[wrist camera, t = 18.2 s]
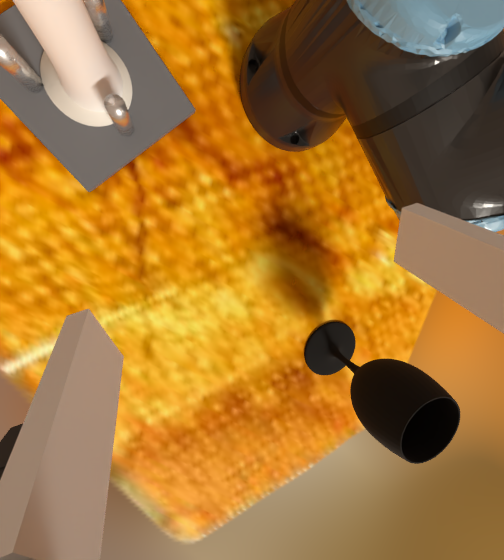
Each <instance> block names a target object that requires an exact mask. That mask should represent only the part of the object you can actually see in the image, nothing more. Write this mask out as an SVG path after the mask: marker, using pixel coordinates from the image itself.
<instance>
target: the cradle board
mask: <svg viewBox="0 0 504 560" xmlns="http://www.w3.org/2000/svg"><path fill="white" fill-rule="evenodd" d="M104 3H105V6H106V10H107V13H108V17H109V20H110V24H111V28H112V31H113V39H112V41H111V42H109V43H104V42H102V41H101V42H102V44H103V46H104V48H105V49H106V51H107V53H108V55H109V56H110V58H111V59H112V60H113V62H114V63H115V65H116V66H117V68H118V69H119V72H120V74H121V77H122V81H123V93H122V97H121V98H122V99H123V100H124V101H125V104H126V107H127V110H128V112H129V115H130V118H131V121H132V124H133V127H134V131H133V133H132V135H130V136H123V135H121V134H120V133H119V132H118V130H117V128H116V127H115V125H114V123H113V121H112V119H111V117H110V116H109V114H108V112H107V111H104V112H94V111H90V110H87V109H84V108H82V107H80V106H79V105H77V104H76V103H75V102H74V101H72V100H71V99H70V98H69V96H68V95H67V94H66V92H65V91H64V89H63V87H62V85H61V83H60V80H59V77H58V74H57V72H56V70H55V68H54V66H53V64H52V62H51V61H50V59H49V57H48V56H47V54H46V52H45V51H44V49H43V47H42V46H41V44H40V43H39V41H38V39H37V38H36V36H35V35H34V33H33V32H32V30H31V28H30V27H29V25H28V24H27V22H26V21H25V19H24V18H23V16H22V14H21V13H20V11H19V10H18V8H17V7H16V5H14V6H12V7H11V8H9V9H8V10H6V11H5V12H3V13H2V14H0V34H1V35H2V36H3V37H4V38H5V39H6V40H7V42H8V43H9V44H10V45H11V46H12V47H13V48H14V49H15V50H16V51H17V53H18V54H19V55H20V56H21V57H22V58H23V59H24V60H25V61H26V62H27V64H28V65H29V66H30V67H31V68H32V69H33V70H34V71H35V72H36V73H37V75H38V76H39V77H40V78H41V79H42V83H43V89H42V90H41V91H40V92H37V93H34V92H31V91H29V90H28V89H26V88H25V87H24V86H23V85H22V84H21V83H20V82H19V81H18V80H16V79H15V78H14V77H13V76H12V75H11V74H10V73H9V72H8V71H7V70H5V69H4V68H3V67H2V66H1V65H0V99H1V100H2V101H3V102H4V103H5V104H6V105H7V106H8V107H9V108H10V109H11V110H12V111H13V112H14V114H15V115H16V116H17V117H18V118H19V119H20V120H21V121H22V122H23V123H24V124H25V125H26V126H27V127H28V128H29V129H30V130H31V132H32V133H33V134H34V135H35V136H36V137H37V138H38V139H39V140H40V141H41V142H42V143H43V144H44V145H45V146H46V147H47V149H48V150H49V151H50V152H51V153H52V154H53V155H54V156H55V157H56V158H57V159H58V160H59V161H60V162H61V163H62V164H63V165H64V167H65V168H66V169H67V170H68V171H69V172H70V173H71V174H72V175H73V176H74V177H75V178H76V179H77V180H78V181H79V182H80V183H81V185H82V186H83V187H84V188H85V189H86V190H87V191H88V192H91V191H92V190H94V189H95V188H96V187H98V186H99V185H100V184H102V183H103V182H104V181H106V180H107V179H108V178H109V177H111V176H112V175H113V174H115V173H116V172H117V171H119V170H120V169H121V168H123V167H124V166H125V165H127V164H128V163H129V162H130V161H132V160H133V159H134V158H136V157H137V156H138V155H140V154H141V153H142V152H144V151H145V150H146V149H148V148H149V147H150V146H152V145H153V144H154V143H155V142H157V141H158V140H159V139H161V138H162V137H163V136H165V135H166V134H167V133H169V132H170V131H171V130H173V129H174V128H175V127H176V126H178V125H179V124H180V123H182V122H183V121H184V120H186V119H187V118H188V117H190V116H191V115H192V114H194V113H195V108H194V107H193V105H192V104H191V103H190V101H189V100H188V98H187V97H186V95H185V94H184V92H183V91H182V89H181V88H180V86H179V85H178V83H177V82H176V81H175V79H174V78H173V76H172V75H171V73H170V72H169V70H168V69H167V67H166V66H165V64H164V63H163V61H162V60H161V59H160V57H159V56H158V54H157V53H156V51H155V50H154V48H153V47H152V45H151V44H150V42H149V41H148V39H147V38H146V37H145V35H144V34H143V32H142V31H141V29H140V28H139V26H138V25H137V23H136V22H135V20H134V19H133V17H132V16H131V15H130V13H129V12H128V10H127V9H126V7H125V6H124V4H123V3H122V1H121V0H104Z"/></svg>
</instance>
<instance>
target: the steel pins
mask: <svg viewBox="0 0 504 560" xmlns="http://www.w3.org/2000/svg"><path fill="white" fill-rule="evenodd" d="M83 2H84V5H85V7H86V9H87V11H88V14H89V16H90V18H91V20H92V23H93V25H94V27H95V29H96V31H97V34H98V36H99V38H100V40H101V41H102V42H104V43H109V42H111V41H112V39H113V31H112V28H111V24H110V20H109V17H108V13H107V10H106V6H105V3H104V0H83ZM0 65H1V66H2V67H3V68H4V69H5V70H7V71H8V72H9V73H10V74H11V75H12V76H13V77H14V78H15V79H16V80H18V81H19V82H20V83H21V84H22V85H23V86H24V87H25V88H26V89H28V90H29V91H31V92H34V93H37V92H40V91H41V90H42V89H43V83H42V79H41V78H40V77H39V76H38V75H37V73H36V72H35V71H34V70H33V69H32V68H31V67H30V66H29V65H28V64H27V62H26V61H25V60H24V59H23V58H22V57H21V56H20V55H19V54H18V53H17V51H16V50H15V49H14V48H13V47H12V46H11V45H10V44H9V43H8V42H7V40H6V39H5V38H4V37H3V36H2V35H1V34H0ZM104 106H105V108H106V110H107V112H108V114H109V116H110V117H111V119H112V121H113V123H114V125H115V127H116V128H117V130H118V132H119V133H120V134H121V135H123V136H130V135H132V133H133V131H134V127H133V124H132V121H131V118H130V115H129V112H128V110H127V107H126V104H125V101H124V100H123V99H122V98H121V97H120V96H119V95H116V94H109V95H107V96H106V98H105V100H104Z"/></svg>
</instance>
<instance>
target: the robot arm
mask: <svg viewBox="0 0 504 560" xmlns="http://www.w3.org/2000/svg"><path fill="white" fill-rule="evenodd" d="M503 28H504V0H295V2H294V4H293V5H292V6H291V7H289V8H288V9H286V10H284V11H283V12H281V13H279V14H277V15H276V16H274V17H272V18H271V19H269V20H268V21H267V22H266V23H265V24H264V25H263V26H262V27H261V28H260V29H259V30H258V32H257V33H256V34H255V36H254V38H253V39H252V41H251V43H250V45H249V47H248V49H247V51H246V53H245V56H244V59H243V62H242V66H241V73H240V92H241V98H242V102H243V106H244V109H245V112H246V114H247V116H248V118H249V120H250V122H251V124H252V125H253V127H254V128H255V130H256V131H257V132H258V133H259V134H260V136H261V137H263V138H264V139H265V140H266V141H267V142H269V143H270V144H272V145H273V146H275V147H277V148H280V149H282V150H286V151H304V150H307V149H310V148H312V147H315V146H317V145H319V144H321V143H323V142H324V141H326V140H327V139H328V138H330V137H331V136H332V135H333V134H334V133H335V132H336V131H337V129H338V128H339V127H340V125H341V124H342V123H343V121H344V120H345V119H346V117H347V118H348V121H349V123H350V125H351V126H352V128H353V130H354V132H355V134H356V136H357V139H358V141H359V143H360V145H361V147H362V149H363V151H364V153H365V155H366V157H367V159H368V161H369V163H370V165H371V167H372V169H373V171H374V173H375V175H376V177H377V179H378V181H379V184H380V186H381V188H382V190H383V192H384V194H385V198H386V202H387V203H388V205H389V206H390V207H391V208H392V209H393V210H394V211H395V213H396V215H397V217H398V218H399V220H400V224H399V230H398V237H397V244H396V250H395V257H394V262H396V263H397V264H399V265H400V266H402V267H403V268H405V269H406V270H408V271H409V272H411V273H412V274H414V275H415V276H417V277H418V278H420V279H421V280H423V281H424V282H426V283H428V284H429V285H431V286H432V287H434V288H435V289H437V290H438V291H440V292H441V293H443V294H445V295H446V296H447V297H449V298H450V299H452V300H453V301H455V302H456V303H458V304H460V305H461V306H463V307H464V308H466V309H467V310H469V311H470V312H472V313H473V314H475V315H476V316H478V317H479V318H481V319H482V320H484V321H485V322H487V323H488V324H490V325H491V326H493V327H495V328H496V329H498V330H499V331H501V332H502V333H504V235H501V234H498V233H496V232H497V231H500V230H502V229H504V30H503ZM122 366H123V355H122V354H121V352H120V351H119V350H118V348H117V347H116V346H115V344H114V343H113V341H112V340H111V339H110V337H109V336H108V335H107V333H106V332H105V330H104V329H103V328H102V326H101V325H100V324H99V322H98V321H97V320H96V318H95V317H94V315H93V314H92V313H91V311H90V310H89V309H87V310H83V311H80V312H77V313H74V314H71V315H68V316H67V317H66V319H65V322H64V324H63V327H62V329H61V332H60V334H59V336H58V339H57V341H56V344H55V346H54V349H53V351H52V354H51V356H50V359H49V361H48V364H47V366H46V369H45V371H44V373H43V376H42V378H41V381H40V383H39V386H38V388H37V391H36V393H35V396H34V398H33V401H32V403H31V406H30V408H29V410H28V413H27V416H26V418H25V421H24V423H23V424H20V425H18V426H15V427H12V428H10V430H9V431H8V432H7V434H6V435H5V436H4V438H3V439H2V440H1V442H0V560H100V554H101V545H102V536H103V529H104V528H103V527H104V520H105V511H106V503H107V494H108V485H109V477H110V468H111V460H112V451H113V443H114V434H115V426H116V417H117V408H118V400H119V391H120V383H121V374H122Z"/></svg>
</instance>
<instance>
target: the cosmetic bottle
mask: <svg viewBox="0 0 504 560" xmlns="http://www.w3.org/2000/svg"><path fill="white" fill-rule="evenodd" d="M13 2H14V3H15V5H16V7H17V8H18V10H19V11H20V13H21V14H22V16H23V18H24V19H25V21H26V22H27V24H28V25H29V27H30V28H31V30H32V32H33V33H34V35H35V36H36V38H37V39H38V41H39V43H40V44H41V46H42V47H43V49H44V51H45V52H46V54H47V56H48V57H49V59H50V61H51V62H52V64H53V66H54V68H55V70H56V72H57V74H58V77H59V80H60V83H61V85H62V87H63V89H64V91H65V92H66V94H67V95H68V96H69V98H70V99H71V100H72V101H74V102H75V103H76V104H77V105H79V106H80V107H82V108H84V109H87V110H90V111H94V112H104V111H107V110H106V108H105V106H104V100H105V98H106V96H107V95H109V94H116V95H119V96H120V97H122V93H123V81H122V77H121V74H120V72H119V69H118V68H117V66H116V65H115V63H114V62H113V60H112V59H111V58H110V56H109V55H108V53H107V51H106V49H105V48H104V46H103V44H102V42H101V40H100V38H99V36H98V34H97V31H96V29H95V27H94V25H93V23H92V20H91V18H90V16H89V14H88V11H87V9H86V7H85V5H84V2H83V0H13Z"/></svg>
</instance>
